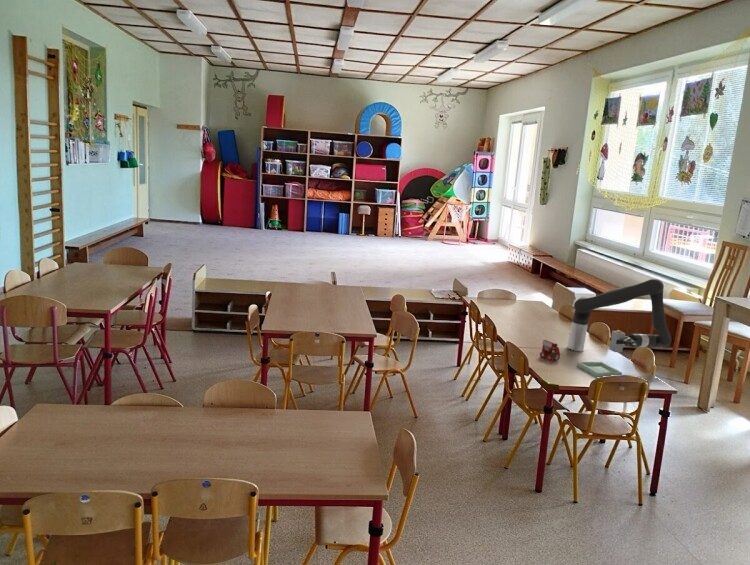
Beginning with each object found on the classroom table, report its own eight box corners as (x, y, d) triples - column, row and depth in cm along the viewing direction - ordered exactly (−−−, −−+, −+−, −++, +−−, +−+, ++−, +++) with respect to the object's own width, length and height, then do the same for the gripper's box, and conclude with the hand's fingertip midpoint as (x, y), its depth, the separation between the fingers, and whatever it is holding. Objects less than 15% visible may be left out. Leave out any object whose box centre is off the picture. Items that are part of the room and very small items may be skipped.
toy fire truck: (554, 363, 347) (556, 346, 345) (537, 356, 357) (539, 339, 355) (561, 361, 351) (564, 344, 349) (544, 355, 361) (547, 338, 359)
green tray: (577, 366, 345) (577, 361, 344) (600, 366, 350) (601, 361, 349) (596, 378, 328) (597, 372, 328) (621, 377, 333) (622, 372, 332)
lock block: (608, 349, 344) (612, 329, 341) (616, 349, 345) (619, 329, 343) (614, 352, 339) (618, 332, 337) (622, 352, 340) (625, 332, 338)
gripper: (630, 330, 351) (606, 330, 346) (648, 338, 338) (623, 338, 333) (628, 342, 353) (604, 342, 347) (645, 350, 339) (620, 351, 334)
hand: (613, 340), depth 340 cm, fingers closed on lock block, 5 cm apart
